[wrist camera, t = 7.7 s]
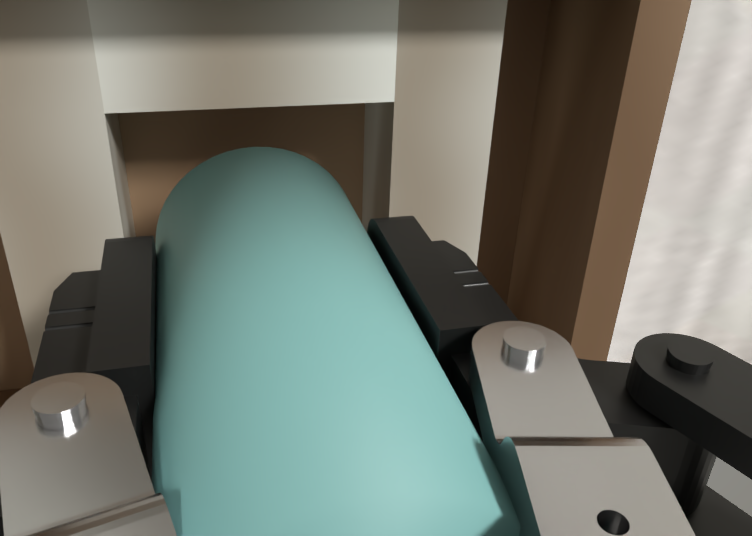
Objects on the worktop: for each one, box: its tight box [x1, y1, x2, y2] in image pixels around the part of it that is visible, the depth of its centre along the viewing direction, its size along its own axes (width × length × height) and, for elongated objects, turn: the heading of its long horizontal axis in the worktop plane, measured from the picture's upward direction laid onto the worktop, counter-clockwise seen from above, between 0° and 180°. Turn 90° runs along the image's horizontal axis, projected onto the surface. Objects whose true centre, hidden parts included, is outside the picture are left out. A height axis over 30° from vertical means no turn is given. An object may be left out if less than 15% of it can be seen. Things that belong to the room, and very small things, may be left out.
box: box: [0, 0, 691, 408], centre depth 14 cm, size 15×11×4 cm
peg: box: [152, 147, 521, 536], centre depth 10 cm, size 4×4×8 cm
